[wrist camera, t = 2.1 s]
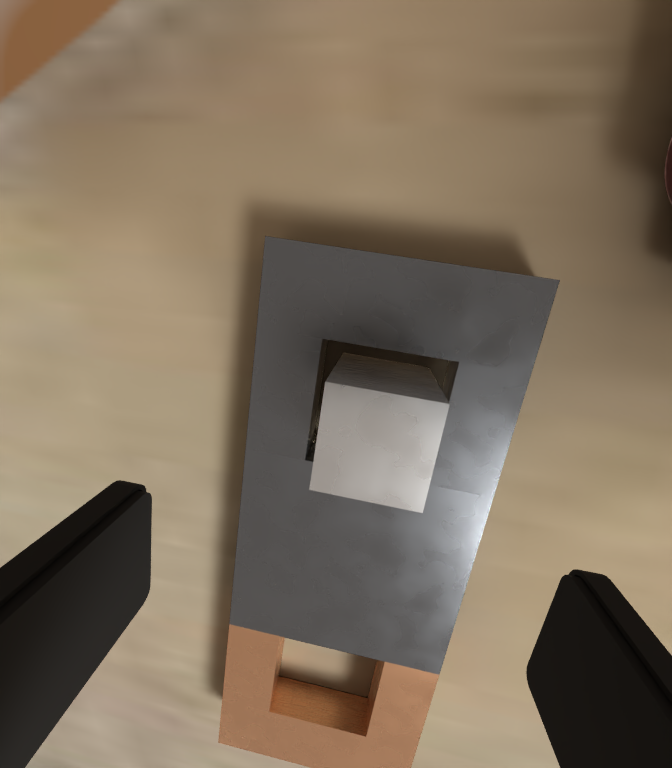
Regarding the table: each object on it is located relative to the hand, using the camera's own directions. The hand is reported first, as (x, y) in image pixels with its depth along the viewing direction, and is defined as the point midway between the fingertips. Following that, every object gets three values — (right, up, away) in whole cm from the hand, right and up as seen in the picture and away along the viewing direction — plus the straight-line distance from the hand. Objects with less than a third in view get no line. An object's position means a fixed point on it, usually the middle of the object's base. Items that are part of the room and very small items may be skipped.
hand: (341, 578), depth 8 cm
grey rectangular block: (+2, +3, +14) cm, 14 cm away
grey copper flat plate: (+1, -6, +16) cm, 17 cm away
